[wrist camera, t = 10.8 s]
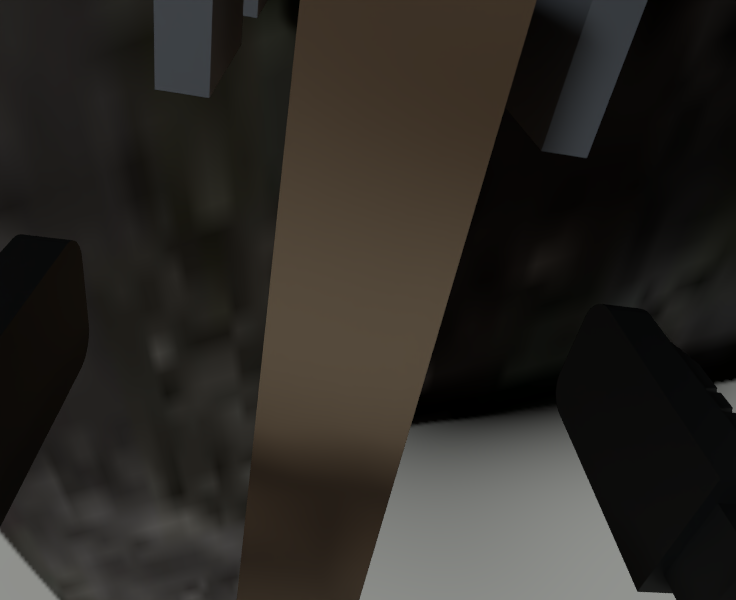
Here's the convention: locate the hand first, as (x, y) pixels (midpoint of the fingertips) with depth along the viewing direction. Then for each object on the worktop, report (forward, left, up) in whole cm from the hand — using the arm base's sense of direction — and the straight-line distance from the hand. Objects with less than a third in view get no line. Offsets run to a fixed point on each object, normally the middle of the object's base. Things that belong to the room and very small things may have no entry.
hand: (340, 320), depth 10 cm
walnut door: (0, 0, -9) cm, 9 cm away
